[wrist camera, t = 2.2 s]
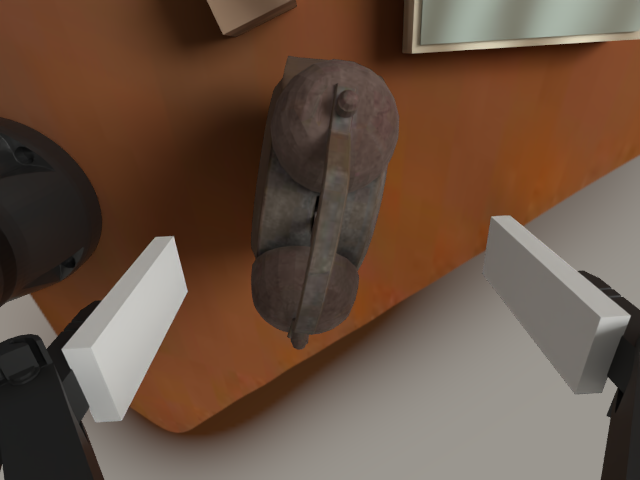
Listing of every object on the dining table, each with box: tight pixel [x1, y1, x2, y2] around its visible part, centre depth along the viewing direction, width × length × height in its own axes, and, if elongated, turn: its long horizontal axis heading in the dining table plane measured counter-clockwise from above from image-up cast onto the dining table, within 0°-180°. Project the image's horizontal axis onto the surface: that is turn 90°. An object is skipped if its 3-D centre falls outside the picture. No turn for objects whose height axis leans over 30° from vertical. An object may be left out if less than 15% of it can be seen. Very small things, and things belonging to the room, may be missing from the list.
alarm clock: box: [251, 56, 399, 349], centre depth 23 cm, size 14×7×20 cm, turn 169°
